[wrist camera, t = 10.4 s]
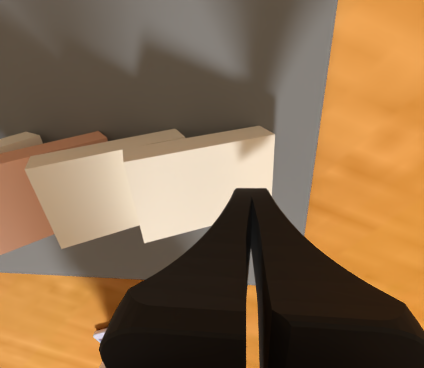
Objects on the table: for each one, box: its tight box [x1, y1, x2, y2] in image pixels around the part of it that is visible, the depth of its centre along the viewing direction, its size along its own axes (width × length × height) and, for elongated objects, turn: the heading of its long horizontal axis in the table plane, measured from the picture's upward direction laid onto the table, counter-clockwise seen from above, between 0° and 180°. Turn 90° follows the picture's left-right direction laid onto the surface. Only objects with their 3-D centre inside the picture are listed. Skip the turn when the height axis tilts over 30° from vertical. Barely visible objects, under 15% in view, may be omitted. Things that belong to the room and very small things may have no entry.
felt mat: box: [0, 0, 338, 285], centre depth 16 cm, size 26×22×1 cm
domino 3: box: [122, 126, 275, 243], centre depth 13 cm, size 2×4×7 cm
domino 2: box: [24, 129, 185, 249], centre depth 14 cm, size 2×4×7 cm
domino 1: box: [0, 131, 108, 255], centre depth 14 cm, size 2×4×7 cm
